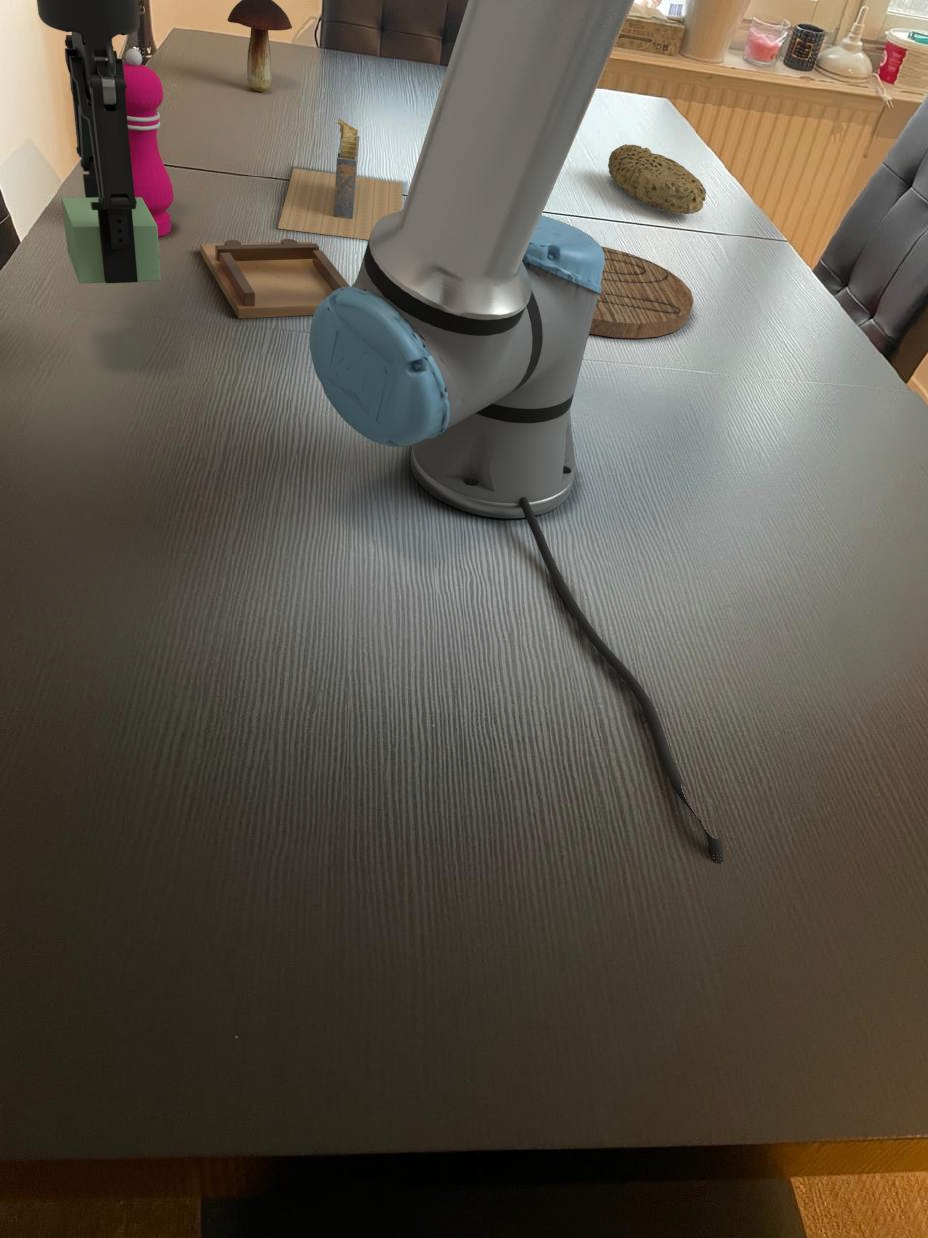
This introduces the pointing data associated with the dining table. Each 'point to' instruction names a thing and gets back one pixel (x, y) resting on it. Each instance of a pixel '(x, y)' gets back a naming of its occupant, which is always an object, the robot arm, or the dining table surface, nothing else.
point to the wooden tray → (272, 276)
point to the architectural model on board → (339, 196)
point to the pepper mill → (147, 140)
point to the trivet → (639, 298)
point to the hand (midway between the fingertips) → (113, 263)
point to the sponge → (656, 180)
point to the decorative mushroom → (259, 36)
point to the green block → (88, 243)
